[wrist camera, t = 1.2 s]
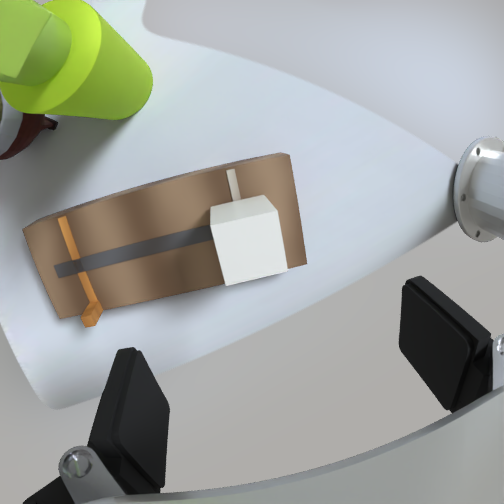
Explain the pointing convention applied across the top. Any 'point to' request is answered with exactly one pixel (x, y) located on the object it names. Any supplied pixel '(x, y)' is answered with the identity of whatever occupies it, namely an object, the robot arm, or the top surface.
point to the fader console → (154, 237)
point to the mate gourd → (19, 128)
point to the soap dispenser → (68, 62)
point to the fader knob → (248, 239)
